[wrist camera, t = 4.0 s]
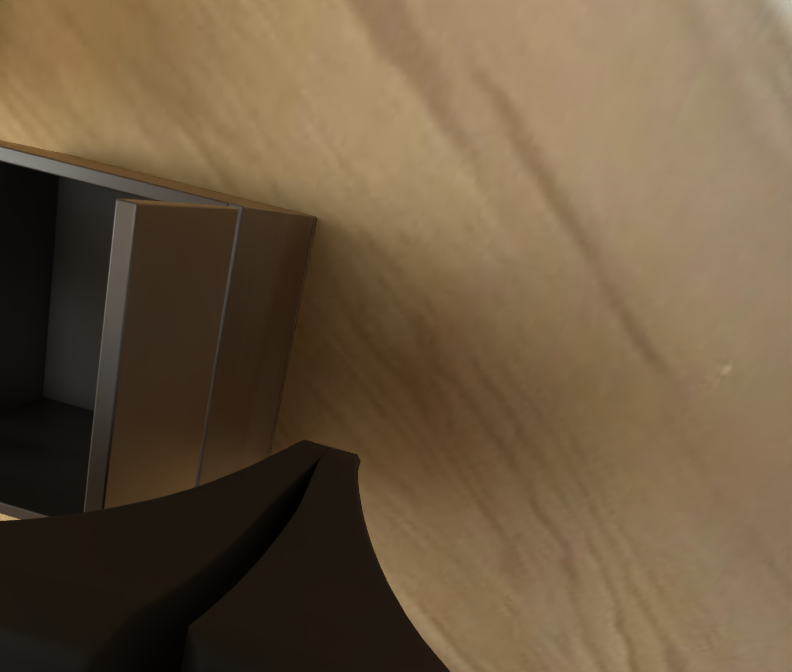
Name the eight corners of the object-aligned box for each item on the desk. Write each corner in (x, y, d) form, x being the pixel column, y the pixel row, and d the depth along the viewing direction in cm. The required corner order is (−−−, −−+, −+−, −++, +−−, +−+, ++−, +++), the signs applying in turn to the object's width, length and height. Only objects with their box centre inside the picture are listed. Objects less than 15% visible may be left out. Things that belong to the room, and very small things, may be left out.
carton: (60, 153, 19) (-147, 108, 13) (317, 216, 19) (243, 206, 12) (41, 399, 22) (-141, 471, 15) (268, 463, 21) (184, 568, 14)
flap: (115, 198, 6) (138, 202, 6) (226, 205, 11) (239, 208, 11) (53, 794, 9) (70, 795, 9) (168, 580, 14) (179, 582, 14)
